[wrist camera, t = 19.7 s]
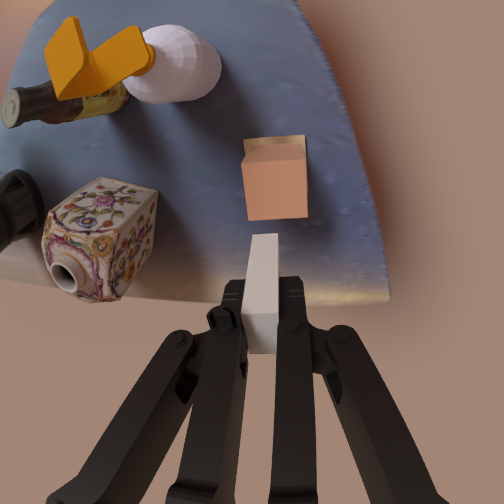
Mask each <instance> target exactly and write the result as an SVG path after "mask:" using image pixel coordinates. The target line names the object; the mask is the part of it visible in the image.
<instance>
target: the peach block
mask: <svg viewBox="0 0 504 504" xmlns="http://www.w3.org/2000/svg"><path fill="white" fill-rule="evenodd" d="M241 167H242V175H243V182H244V190H245V197H246V205H247V212H248V220H249V221H254V220H270V219H287V218H307V217H308V209H307V183H306V164H305V158H304V155H303V153H302V151H301V148H300V146H299V144H298V143H285V144H271V145H258V146H251V147H250V149H249V150H248V152H247V154H246V156H245V158H244V159H243V161H242V163H241Z"/></svg>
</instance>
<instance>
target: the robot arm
mask: <svg viewBox="0 0 504 504" xmlns="http://www.w3.org/2000/svg"><path fill="white" fill-rule="evenodd" d="M43 218H44V210H43V203H42V199H41V196H40V193H39V190H38V188H37V186H36V184H35V183H34V181H33V180H32V178H31V177H30V176H29V175H28V174H27V173H26V172H24V171H22V170H19V169H16V170H13V171H11V172H9V173H8V174H6V175H5V176H4V177H3V178H2V179H1V180H0V253H1V252H2V251H3V250H4V249H5V248H6V247H7V246H8V245H9V244H11V243H12V242H15V241H18V240H21V239H24V238H27V237H30V236H32V235H33V234H34V233H36V232H37V231H38V230H39V229H40V228H41V226H42V223H43ZM206 317H207V320H208V323H209V326H210V330H209V331H207V332H204V333H200V334H196V335H192V334H191V333H190V332H189V331H186V330H177V331H174V332H172V333H170V334H169V335H168V336H167V337H166V339H165V340H164V342H163V343H162V344H161V346H160V347H159V349H158V351H157V352H156V353H155V355H154V356H153V358H152V359H151V361H150V363H149V364H148V365H147V367H146V369H145V370H144V372H143V373H142V374H141V376H140V377H139V379H138V381H137V382H136V384H135V385H134V387H133V388H132V390H131V391H130V393H129V394H128V396H127V397H126V399H125V400H124V402H123V404H122V405H121V407H120V408H119V410H118V411H117V413H116V414H115V416H114V418H113V419H112V421H111V422H110V424H109V425H108V427H107V429H106V430H105V432H104V433H103V435H102V436H101V438H100V440H99V441H98V443H97V444H96V446H95V448H94V449H93V451H92V453H91V454H90V456H89V457H88V459H87V461H86V462H85V464H84V466H83V467H82V469H81V470H80V472H79V474H78V475H77V476H76V477H75V478H73V479H72V480H71V481H69V482H68V483H66V484H65V485H64V486H62V487H61V488H59V489H58V490H56V491H55V492H54V493H52V494H51V495H50V496H49V497H48V498H47V501H46V504H139V503H140V501H141V499H142V498H143V496H144V494H145V493H146V491H147V489H148V487H149V485H150V484H151V482H152V480H153V478H154V476H155V474H156V472H157V471H158V469H159V467H160V465H161V463H162V461H163V459H164V457H165V455H166V454H167V452H168V450H169V448H170V446H171V444H172V442H173V440H174V439H175V436H176V435H177V433H178V431H179V429H180V427H181V425H182V423H183V421H184V419H185V418H186V416H187V414H188V412H189V410H190V408H191V406H192V404H193V406H192V411H191V415H190V420H189V425H188V429H187V434H186V438H185V443H184V448H183V453H182V458H181V463H180V467H179V473H178V477H177V480H176V482H175V483H174V484H173V485H171V486H170V488H169V490H168V493H167V497H166V501H165V504H235V498H234V492H235V483H236V474H237V465H238V456H239V447H240V438H241V429H242V419H243V409H244V400H245V391H246V381H247V372H248V359H247V352H248V351H249V354H269V353H270V354H273V353H276V386H275V388H276V389H275V413H274V434H273V453H272V469H271V485H270V494H269V499H268V504H318V495H317V473H316V472H317V470H316V428H315V406H314V388H313V373H317V374H322V376H323V379H324V382H325V384H326V386H327V389H328V392H329V394H330V397H331V399H332V402H333V404H334V407H335V409H336V412H337V415H338V417H339V420H340V422H341V425H342V428H343V430H344V432H345V435H346V438H347V441H348V443H349V446H350V449H351V451H352V454H353V456H354V459H355V462H356V465H357V467H358V470H359V473H360V475H361V478H362V481H363V483H364V486H365V489H366V492H367V494H368V497H369V500H370V503H371V504H449V503H448V502H447V501H446V500H445V499H443V498H442V497H441V496H440V495H439V494H438V493H437V491H436V489H435V486H434V484H433V482H432V480H431V477H430V475H429V472H428V470H427V468H426V466H425V463H424V461H423V459H422V457H421V455H420V453H419V451H418V448H417V446H416V444H415V442H414V440H413V438H412V436H411V434H410V432H409V429H408V428H407V426H406V423H405V421H404V419H403V417H402V416H401V413H400V411H399V410H398V407H397V406H396V404H395V402H394V400H393V398H392V396H391V394H390V392H389V390H388V388H387V387H386V384H385V383H384V381H383V379H382V377H381V375H380V373H379V371H378V370H377V368H376V366H375V364H374V362H373V361H372V359H371V357H370V355H369V353H368V352H367V350H366V348H365V346H364V344H363V343H362V341H361V339H360V337H359V336H358V334H357V332H356V331H355V330H354V329H353V328H351V327H349V326H346V325H336V326H334V327H332V328H330V329H329V331H327V330H322V329H318V328H315V327H314V326H312V325H311V324H310V323H309V322H308V320H307V316H306V305H305V296H304V286H303V281H302V280H301V279H300V278H299V276H290V277H281V269H280V255H279V241H278V233H273V234H257V235H253V236H252V243H251V249H250V256H249V263H248V269H247V276H246V279H241V280H230V281H229V282H228V284H227V285H226V286H225V289H224V295H223V298H222V302H221V305H220V306H216V307H214V308H212V309H211V310H210V311H209V312H208V314H207V316H206Z"/></svg>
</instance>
